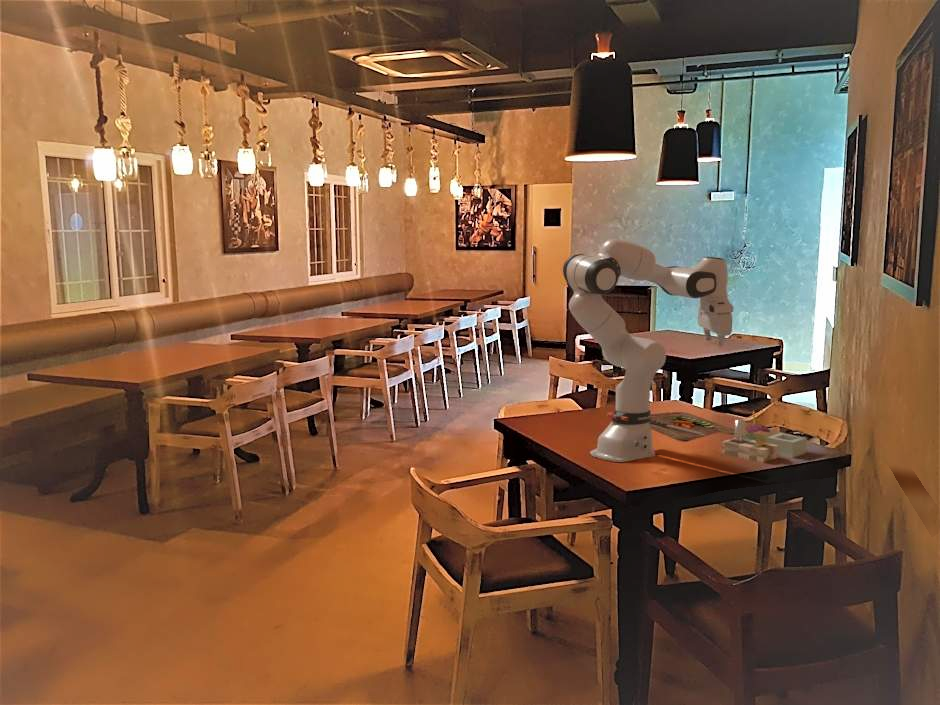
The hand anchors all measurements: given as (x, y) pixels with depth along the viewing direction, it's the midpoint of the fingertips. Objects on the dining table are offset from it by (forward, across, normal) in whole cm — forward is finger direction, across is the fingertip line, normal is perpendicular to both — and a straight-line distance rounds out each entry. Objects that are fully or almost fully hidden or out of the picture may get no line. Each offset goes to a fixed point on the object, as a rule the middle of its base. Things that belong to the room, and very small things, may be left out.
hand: (713, 343), depth 256 cm
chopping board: (+38, -21, -3) cm, 43 cm away
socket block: (+33, +24, +2) cm, 41 cm away
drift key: (+30, +27, +4) cm, 40 cm away
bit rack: (+34, +22, +15) cm, 44 cm away
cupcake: (+36, +7, +12) cm, 38 cm away
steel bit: (+32, +21, -1) cm, 38 cm away
